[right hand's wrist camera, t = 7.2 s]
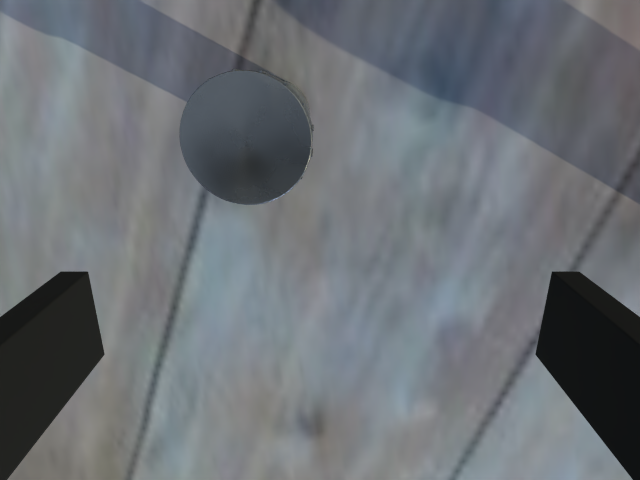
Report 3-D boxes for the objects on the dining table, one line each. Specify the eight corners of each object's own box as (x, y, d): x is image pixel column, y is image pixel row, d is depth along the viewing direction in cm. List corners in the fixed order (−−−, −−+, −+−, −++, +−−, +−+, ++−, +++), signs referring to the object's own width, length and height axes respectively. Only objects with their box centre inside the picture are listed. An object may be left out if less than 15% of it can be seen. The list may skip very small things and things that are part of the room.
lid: (287, 51, 20) (284, 47, 18) (329, 170, 22) (331, 180, 20) (172, 96, 21) (155, 98, 18) (223, 208, 22) (212, 222, 20)
